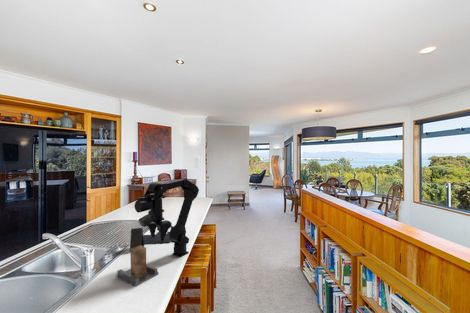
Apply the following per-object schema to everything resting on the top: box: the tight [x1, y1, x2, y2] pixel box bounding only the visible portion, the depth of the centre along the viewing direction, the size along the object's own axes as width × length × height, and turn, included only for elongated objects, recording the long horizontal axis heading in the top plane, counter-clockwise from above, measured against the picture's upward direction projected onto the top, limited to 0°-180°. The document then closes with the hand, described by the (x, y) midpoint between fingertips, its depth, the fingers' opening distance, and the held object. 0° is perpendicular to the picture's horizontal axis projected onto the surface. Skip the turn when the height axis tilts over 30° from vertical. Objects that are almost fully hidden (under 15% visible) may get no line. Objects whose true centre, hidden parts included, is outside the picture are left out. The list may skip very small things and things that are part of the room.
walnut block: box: [129, 245, 148, 278], centre depth 106 cm, size 5×5×12 cm
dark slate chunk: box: [143, 231, 172, 246], centre depth 153 cm, size 15×22×5 cm
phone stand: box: [129, 227, 145, 250], centre depth 139 cm, size 9×6×12 cm, turn 6°
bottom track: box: [116, 263, 159, 287], centre depth 107 cm, size 12×14×3 cm
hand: (157, 239), depth 117 cm, fingers open, 9 cm apart
